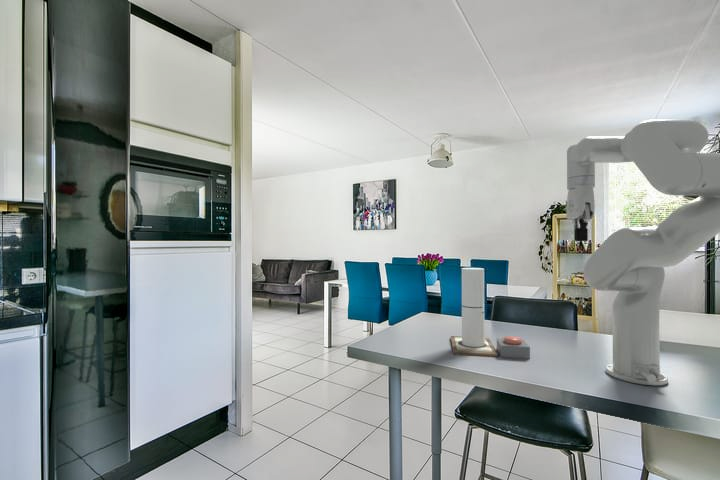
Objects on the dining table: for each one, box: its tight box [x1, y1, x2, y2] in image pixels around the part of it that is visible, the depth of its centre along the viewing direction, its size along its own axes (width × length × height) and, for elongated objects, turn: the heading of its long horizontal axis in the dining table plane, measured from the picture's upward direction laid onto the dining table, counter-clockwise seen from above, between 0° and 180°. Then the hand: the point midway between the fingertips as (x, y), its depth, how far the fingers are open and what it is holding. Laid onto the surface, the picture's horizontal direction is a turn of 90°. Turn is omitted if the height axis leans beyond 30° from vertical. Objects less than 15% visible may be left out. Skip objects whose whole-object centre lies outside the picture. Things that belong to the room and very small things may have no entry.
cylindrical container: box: [461, 267, 485, 347], centre depth 115 cm, size 7×7×25 cm
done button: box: [503, 335, 523, 345], centre depth 108 cm, size 5×5×4 cm
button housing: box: [496, 337, 531, 360], centre depth 108 cm, size 8×8×4 cm
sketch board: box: [450, 335, 499, 358], centre depth 115 cm, size 18×13×1 cm
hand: (581, 240), depth 110 cm, fingers closed
